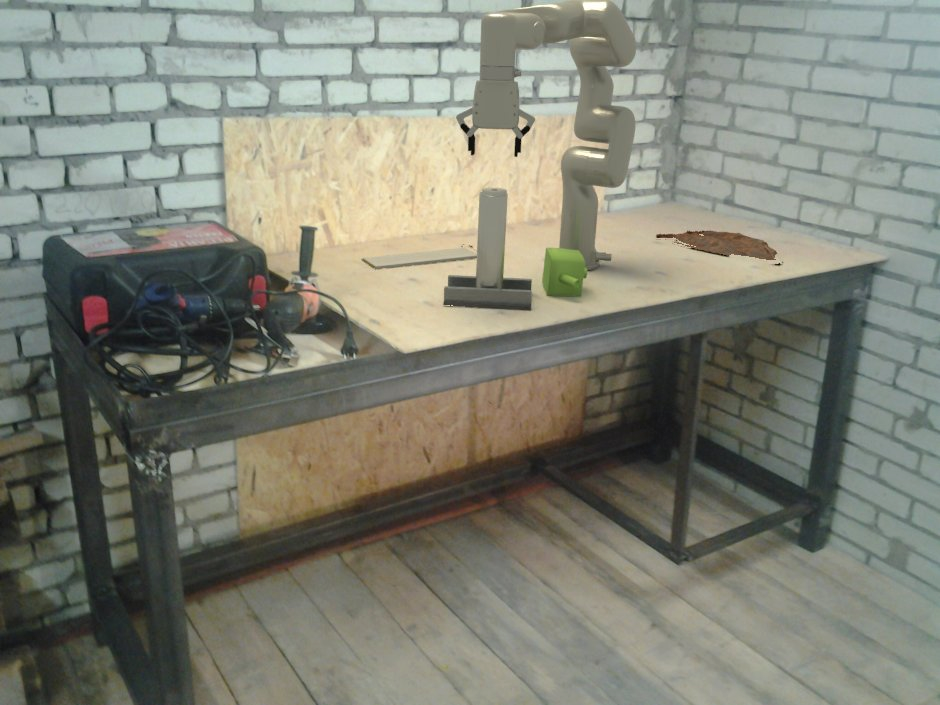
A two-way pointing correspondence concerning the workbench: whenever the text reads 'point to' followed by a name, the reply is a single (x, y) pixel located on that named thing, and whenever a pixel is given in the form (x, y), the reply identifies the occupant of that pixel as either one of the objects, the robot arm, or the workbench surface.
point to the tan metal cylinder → (491, 238)
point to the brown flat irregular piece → (725, 243)
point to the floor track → (488, 293)
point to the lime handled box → (563, 272)
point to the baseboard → (419, 258)
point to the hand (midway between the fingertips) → (494, 155)
